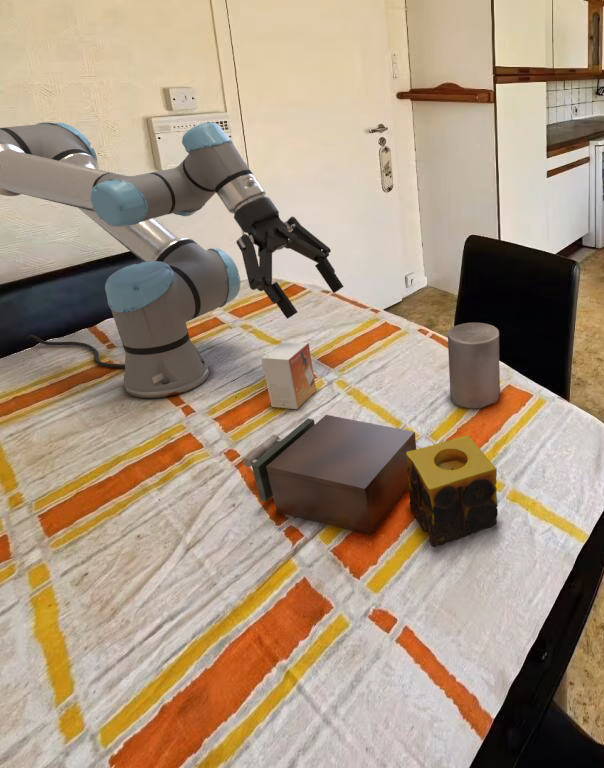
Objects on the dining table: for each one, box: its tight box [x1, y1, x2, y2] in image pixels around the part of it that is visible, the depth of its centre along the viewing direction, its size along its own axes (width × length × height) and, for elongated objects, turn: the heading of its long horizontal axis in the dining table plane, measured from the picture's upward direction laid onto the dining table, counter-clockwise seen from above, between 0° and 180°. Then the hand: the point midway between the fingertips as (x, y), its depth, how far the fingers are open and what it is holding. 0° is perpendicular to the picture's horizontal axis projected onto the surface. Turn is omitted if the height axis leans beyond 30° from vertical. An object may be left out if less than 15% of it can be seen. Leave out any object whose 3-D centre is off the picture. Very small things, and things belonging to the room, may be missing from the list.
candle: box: [406, 434, 499, 548], centre depth 88 cm, size 10×10×10 cm
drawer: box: [241, 418, 316, 503], centre depth 95 cm, size 20×14×6 cm
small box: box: [260, 340, 317, 410], centre depth 118 cm, size 8×6×10 cm
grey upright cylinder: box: [447, 322, 501, 409], centre depth 118 cm, size 10×10×15 cm
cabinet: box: [266, 414, 417, 537], centre depth 93 cm, size 16×15×8 cm
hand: (316, 302), depth 121 cm, fingers open, 13 cm apart
